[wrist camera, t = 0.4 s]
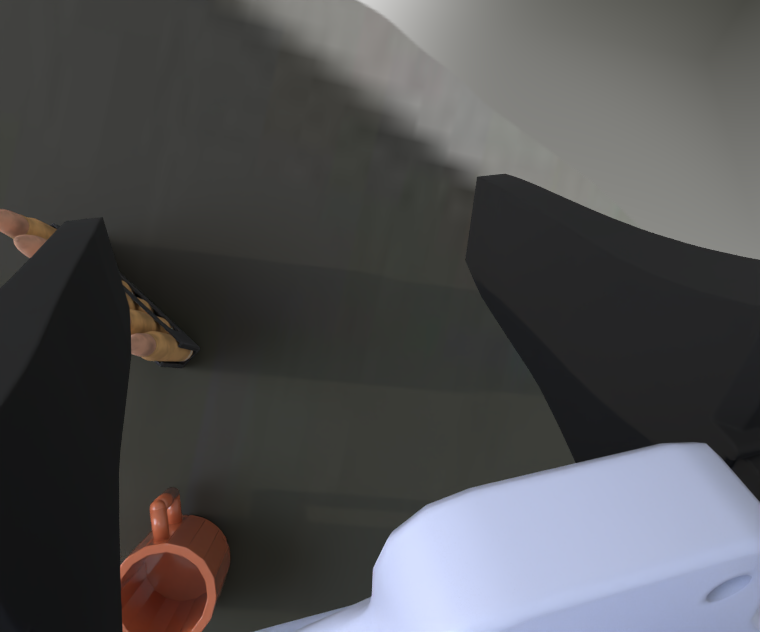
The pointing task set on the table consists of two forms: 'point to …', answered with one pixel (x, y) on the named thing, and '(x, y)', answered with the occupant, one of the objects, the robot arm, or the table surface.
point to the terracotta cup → (174, 571)
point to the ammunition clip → (148, 323)
